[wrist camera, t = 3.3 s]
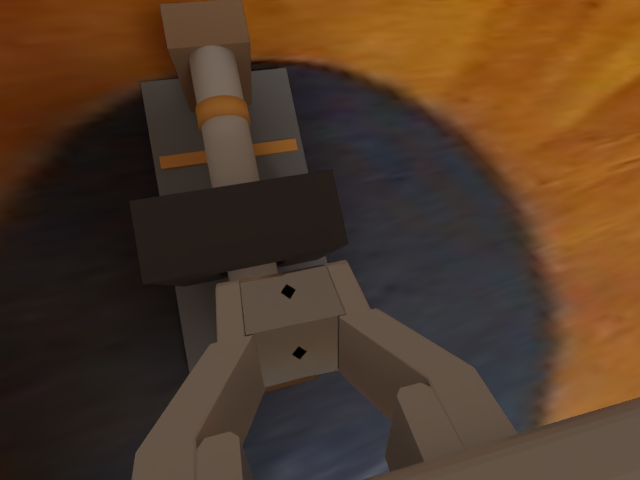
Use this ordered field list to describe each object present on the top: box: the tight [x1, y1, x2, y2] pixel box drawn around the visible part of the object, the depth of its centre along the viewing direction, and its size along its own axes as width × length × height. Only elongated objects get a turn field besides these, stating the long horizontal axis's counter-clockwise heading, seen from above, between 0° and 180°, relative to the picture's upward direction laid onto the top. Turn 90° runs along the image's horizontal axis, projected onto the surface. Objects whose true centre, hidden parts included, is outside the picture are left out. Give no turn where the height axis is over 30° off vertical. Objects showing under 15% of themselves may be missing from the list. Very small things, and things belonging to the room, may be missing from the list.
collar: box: [129, 169, 348, 287], centre depth 23 cm, size 4×10×10 cm, turn 102°
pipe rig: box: [140, 0, 327, 393], centre depth 26 cm, size 24×12×10 cm, turn 12°
